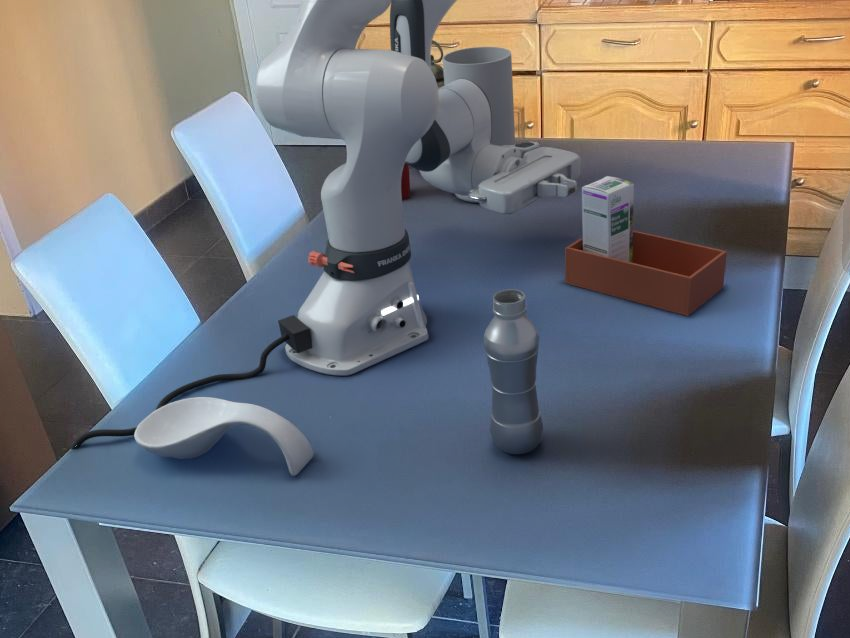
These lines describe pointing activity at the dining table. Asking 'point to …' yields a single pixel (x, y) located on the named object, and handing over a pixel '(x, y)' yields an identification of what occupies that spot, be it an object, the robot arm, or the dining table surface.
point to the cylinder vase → (487, 86)
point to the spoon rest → (216, 429)
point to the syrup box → (608, 218)
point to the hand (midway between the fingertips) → (571, 189)
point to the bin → (652, 272)
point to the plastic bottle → (513, 374)
